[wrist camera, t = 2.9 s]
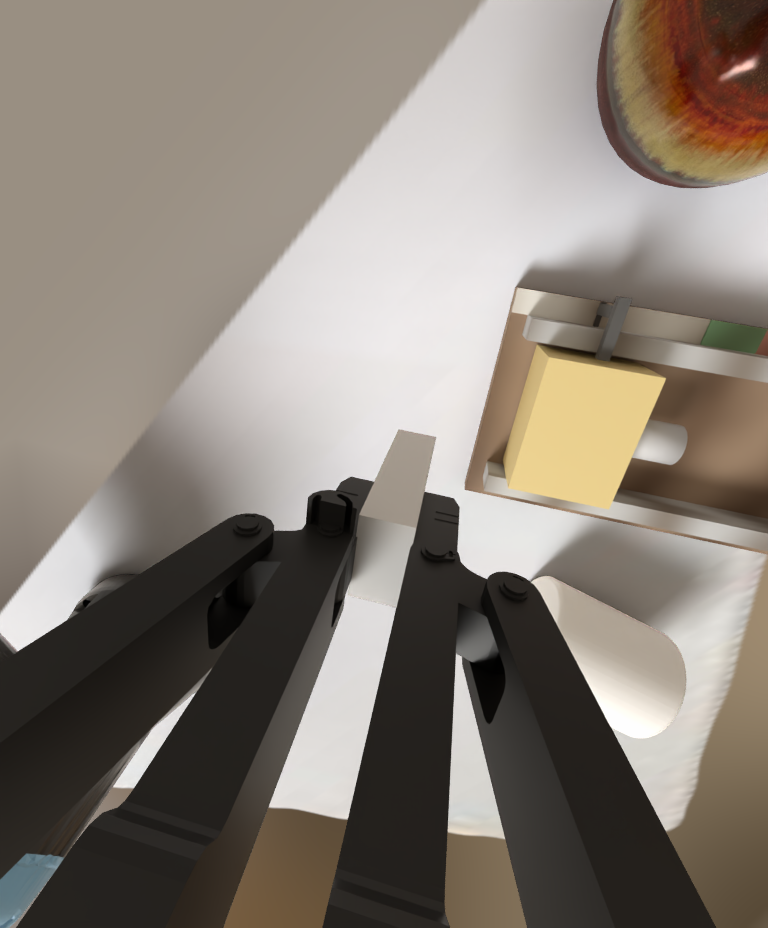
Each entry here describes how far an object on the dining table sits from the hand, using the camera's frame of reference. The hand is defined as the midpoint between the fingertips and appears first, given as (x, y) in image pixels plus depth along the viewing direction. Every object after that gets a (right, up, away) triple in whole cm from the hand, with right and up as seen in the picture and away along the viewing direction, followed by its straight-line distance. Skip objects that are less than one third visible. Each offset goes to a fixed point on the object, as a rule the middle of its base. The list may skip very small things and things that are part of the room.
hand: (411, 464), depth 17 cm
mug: (+14, -14, +20) cm, 28 cm away
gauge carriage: (+12, +4, +10) cm, 17 cm away
